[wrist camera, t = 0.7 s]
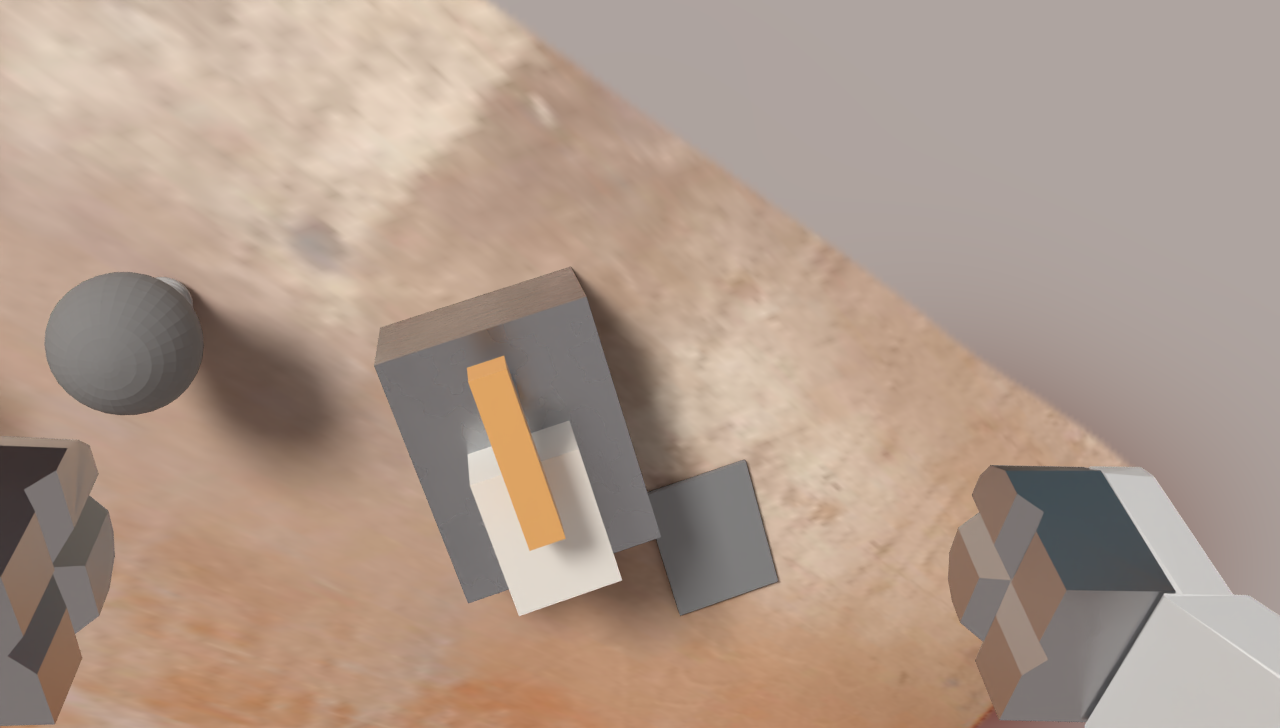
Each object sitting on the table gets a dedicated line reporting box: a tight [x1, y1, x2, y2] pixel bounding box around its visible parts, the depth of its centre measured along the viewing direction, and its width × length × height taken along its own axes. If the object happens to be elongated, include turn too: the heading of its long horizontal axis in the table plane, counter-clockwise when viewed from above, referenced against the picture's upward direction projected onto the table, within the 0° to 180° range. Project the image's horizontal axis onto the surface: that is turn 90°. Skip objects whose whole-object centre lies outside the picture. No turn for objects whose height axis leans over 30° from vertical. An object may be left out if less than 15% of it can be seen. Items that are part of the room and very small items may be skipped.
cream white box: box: [468, 421, 622, 616], centre depth 50 cm, size 7×5×4 cm
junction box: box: [374, 267, 661, 603], centre depth 54 cm, size 13×10×6 cm
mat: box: [647, 460, 778, 615], centre depth 61 cm, size 8×6×1 cm
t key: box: [467, 356, 566, 551], centre depth 47 cm, size 8×2×6 cm, turn 16°
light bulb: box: [45, 272, 204, 415], centre depth 47 cm, size 6×6×10 cm
